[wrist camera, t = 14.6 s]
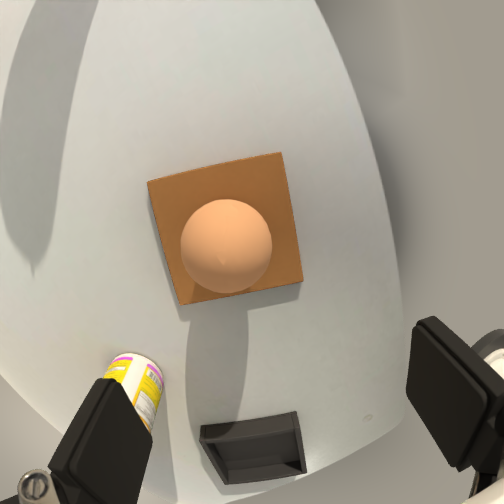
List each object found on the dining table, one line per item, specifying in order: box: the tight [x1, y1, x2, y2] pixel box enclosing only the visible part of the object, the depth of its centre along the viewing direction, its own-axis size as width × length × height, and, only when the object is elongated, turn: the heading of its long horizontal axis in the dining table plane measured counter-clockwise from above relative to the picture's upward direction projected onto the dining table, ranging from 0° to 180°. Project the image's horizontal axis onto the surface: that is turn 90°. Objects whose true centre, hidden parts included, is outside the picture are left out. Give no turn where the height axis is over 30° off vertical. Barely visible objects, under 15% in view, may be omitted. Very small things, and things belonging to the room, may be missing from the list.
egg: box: [181, 199, 272, 293], centre depth 22 cm, size 7×7×9 cm
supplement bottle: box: [103, 353, 164, 434], centre depth 25 cm, size 7×7×13 cm
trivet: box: [147, 152, 303, 305], centre depth 27 cm, size 12×12×1 cm
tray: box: [199, 412, 307, 485], centre depth 34 cm, size 12×12×3 cm
